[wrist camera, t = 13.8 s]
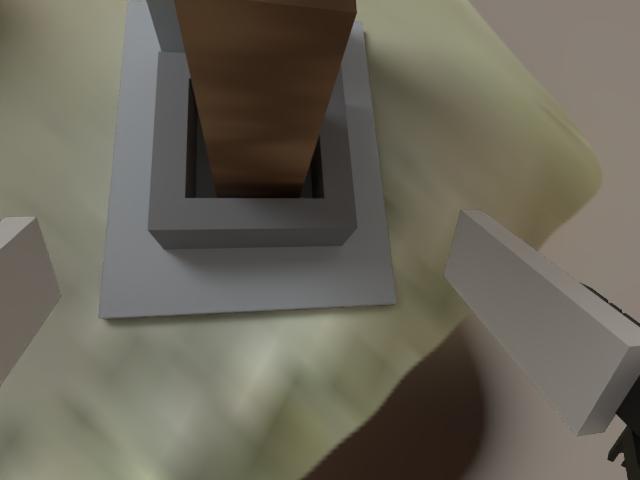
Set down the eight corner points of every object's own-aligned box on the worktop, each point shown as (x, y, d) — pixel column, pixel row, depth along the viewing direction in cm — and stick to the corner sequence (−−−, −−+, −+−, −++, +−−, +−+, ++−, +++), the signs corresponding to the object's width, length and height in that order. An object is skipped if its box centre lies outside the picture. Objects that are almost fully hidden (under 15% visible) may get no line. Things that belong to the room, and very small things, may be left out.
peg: (218, 204, 19) (171, -9, 8) (220, 135, 20) (182, -139, 9) (296, 206, 20) (356, 12, 9) (294, 139, 21) (345, -110, 10)
